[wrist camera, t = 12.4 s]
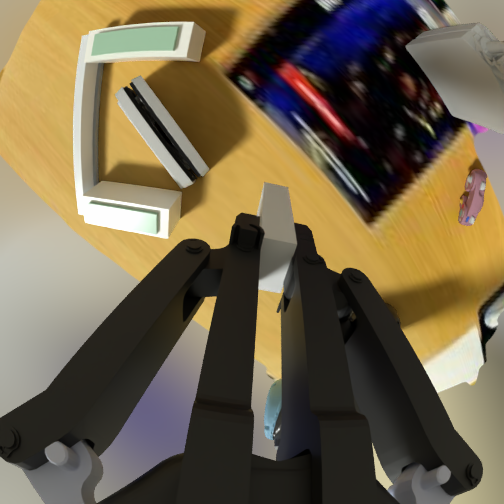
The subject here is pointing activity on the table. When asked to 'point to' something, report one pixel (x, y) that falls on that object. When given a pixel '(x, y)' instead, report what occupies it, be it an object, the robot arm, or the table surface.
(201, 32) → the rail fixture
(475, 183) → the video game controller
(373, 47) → the table surface
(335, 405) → the robot arm
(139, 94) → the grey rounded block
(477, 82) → the fuel canister
